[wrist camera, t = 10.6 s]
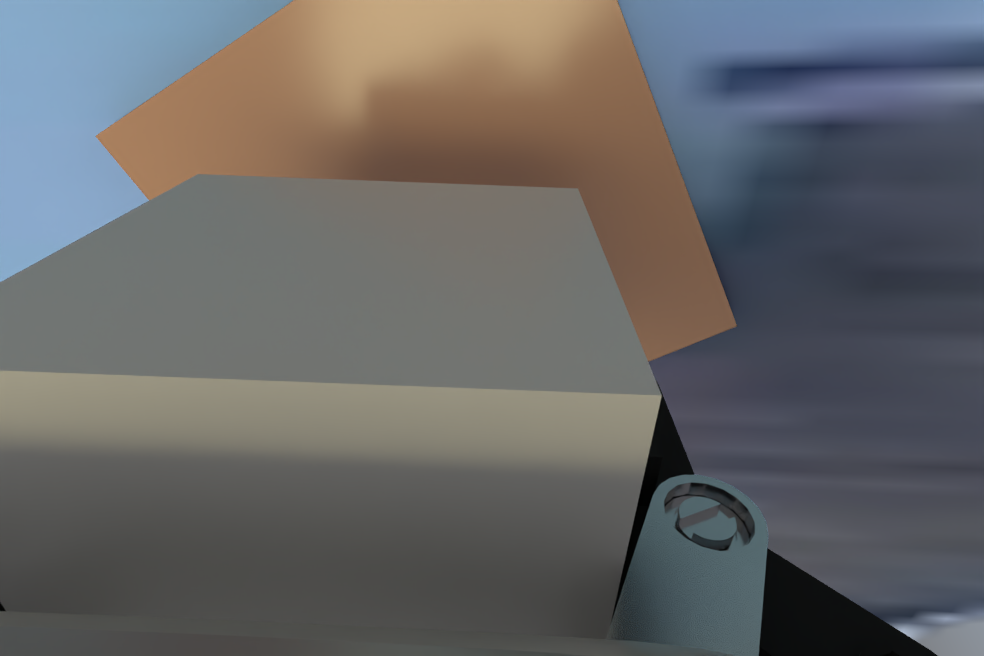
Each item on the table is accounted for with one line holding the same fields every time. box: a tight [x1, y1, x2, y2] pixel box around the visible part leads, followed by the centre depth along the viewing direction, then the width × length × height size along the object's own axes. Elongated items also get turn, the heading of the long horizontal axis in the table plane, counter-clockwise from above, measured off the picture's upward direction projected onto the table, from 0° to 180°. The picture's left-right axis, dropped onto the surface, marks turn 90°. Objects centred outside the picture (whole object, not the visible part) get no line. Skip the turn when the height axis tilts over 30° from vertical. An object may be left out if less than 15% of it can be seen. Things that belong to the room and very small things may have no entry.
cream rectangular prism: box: [0, 174, 662, 639], centre depth 9 cm, size 7×7×6 cm
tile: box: [96, 0, 737, 362], centre depth 17 cm, size 14×14×1 cm
